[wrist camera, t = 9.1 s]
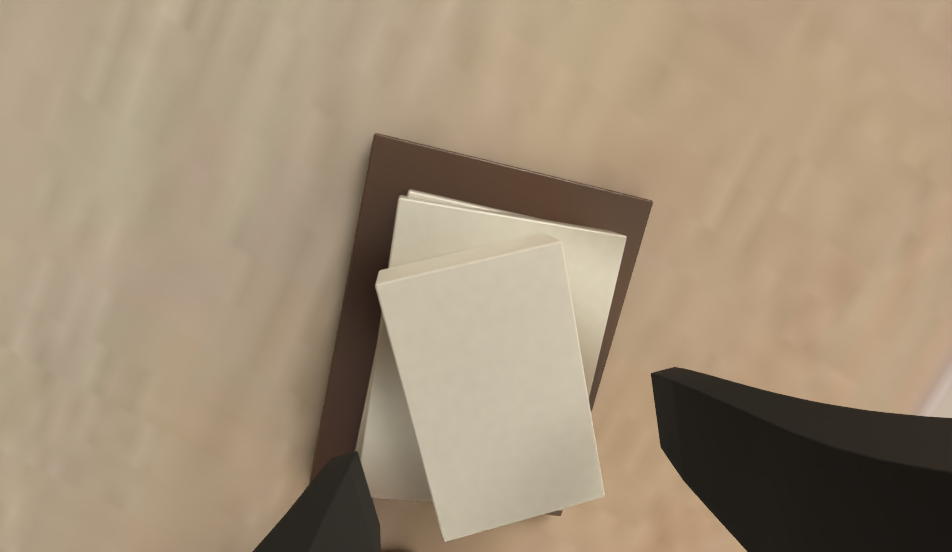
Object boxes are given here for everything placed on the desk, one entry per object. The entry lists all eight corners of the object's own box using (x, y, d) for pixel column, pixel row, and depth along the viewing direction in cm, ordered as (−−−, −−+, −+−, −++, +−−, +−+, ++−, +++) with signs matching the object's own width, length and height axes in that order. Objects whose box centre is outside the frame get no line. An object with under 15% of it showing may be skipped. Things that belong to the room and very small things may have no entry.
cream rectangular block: (584, 463, 17) (605, 497, 15) (439, 503, 16) (443, 543, 14) (543, 231, 15) (562, 240, 13) (378, 270, 14) (374, 284, 13)
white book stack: (555, 504, 21) (583, 567, 17) (311, 475, 19) (292, 539, 16) (643, 199, 18) (695, 206, 15) (375, 134, 17) (368, 126, 13)
